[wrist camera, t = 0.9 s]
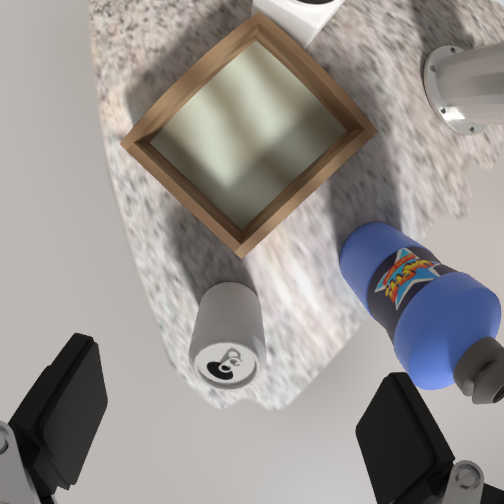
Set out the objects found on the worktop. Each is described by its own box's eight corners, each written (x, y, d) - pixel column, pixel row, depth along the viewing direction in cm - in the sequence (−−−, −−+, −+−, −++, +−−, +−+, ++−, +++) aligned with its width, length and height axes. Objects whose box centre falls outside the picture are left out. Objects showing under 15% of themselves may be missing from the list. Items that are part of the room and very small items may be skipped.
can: (188, 307, 38) (169, 369, 26) (227, 266, 36) (222, 321, 25) (232, 340, 39) (230, 407, 28) (273, 304, 38) (285, 367, 27)
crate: (256, 32, 27) (259, 10, 21) (356, 132, 31) (378, 131, 26) (139, 143, 31) (119, 143, 25) (241, 240, 35) (241, 259, 29)
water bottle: (414, 263, 37) (543, 378, 13) (359, 304, 38) (453, 456, 15) (385, 206, 34) (550, 301, 11) (324, 250, 36) (433, 409, 12)
